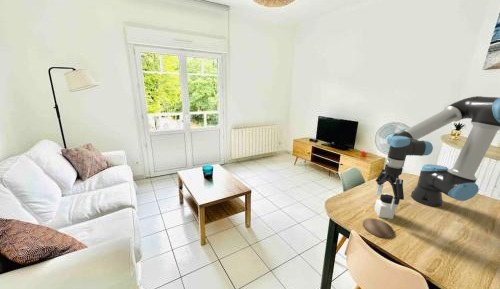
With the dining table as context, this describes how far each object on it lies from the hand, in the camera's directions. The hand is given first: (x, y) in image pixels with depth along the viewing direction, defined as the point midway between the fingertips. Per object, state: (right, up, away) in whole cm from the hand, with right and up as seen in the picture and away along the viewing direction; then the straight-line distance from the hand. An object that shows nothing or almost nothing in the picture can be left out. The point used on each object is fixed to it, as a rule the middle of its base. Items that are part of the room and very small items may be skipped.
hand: (385, 201), depth 113 cm
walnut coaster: (-10, -11, -9) cm, 17 cm away
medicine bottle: (0, -8, +2) cm, 8 cm away
